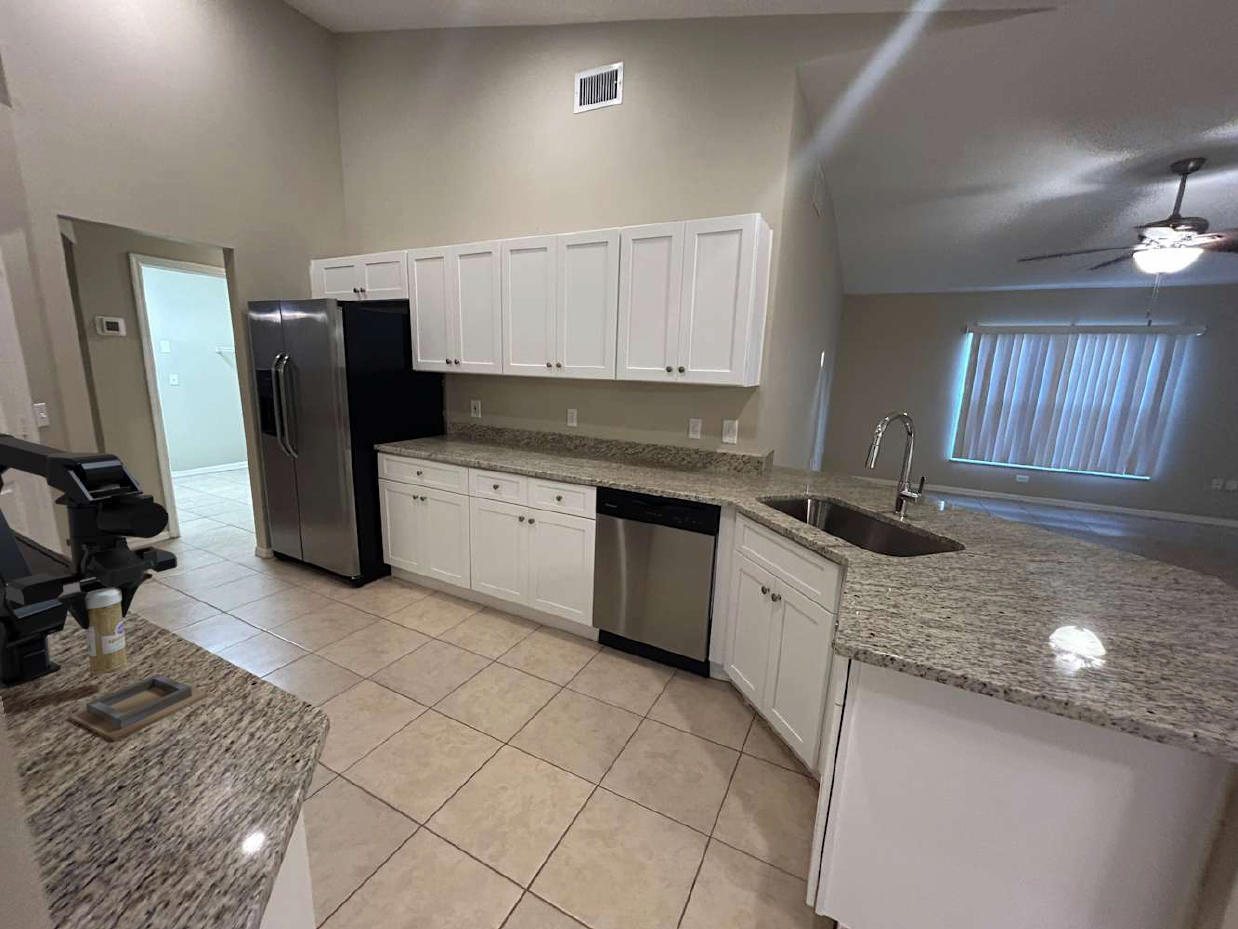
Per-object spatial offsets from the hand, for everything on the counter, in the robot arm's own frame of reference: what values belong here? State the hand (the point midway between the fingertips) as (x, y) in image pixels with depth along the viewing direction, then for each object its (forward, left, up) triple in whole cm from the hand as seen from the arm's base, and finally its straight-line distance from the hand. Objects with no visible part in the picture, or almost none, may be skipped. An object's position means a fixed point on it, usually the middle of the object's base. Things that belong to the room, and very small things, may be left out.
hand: (104, 623), depth 82 cm
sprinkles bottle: (0, 0, -8) cm, 8 cm away
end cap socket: (+11, -1, -11) cm, 16 cm away
